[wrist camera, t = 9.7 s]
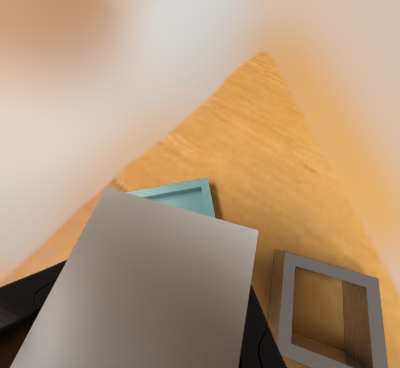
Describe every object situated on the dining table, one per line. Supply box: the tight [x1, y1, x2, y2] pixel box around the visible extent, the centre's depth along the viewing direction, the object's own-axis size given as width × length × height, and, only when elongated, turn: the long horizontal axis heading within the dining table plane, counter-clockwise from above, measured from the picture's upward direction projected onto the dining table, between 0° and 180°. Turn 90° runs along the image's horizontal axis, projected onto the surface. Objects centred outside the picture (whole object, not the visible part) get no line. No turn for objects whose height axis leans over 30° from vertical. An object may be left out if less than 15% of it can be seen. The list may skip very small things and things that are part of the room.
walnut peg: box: [10, 187, 259, 368], centre depth 9 cm, size 5×5×12 cm
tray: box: [126, 178, 216, 218], centre depth 20 cm, size 14×14×2 cm
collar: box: [267, 250, 388, 368], centre depth 16 cm, size 9×9×3 cm
